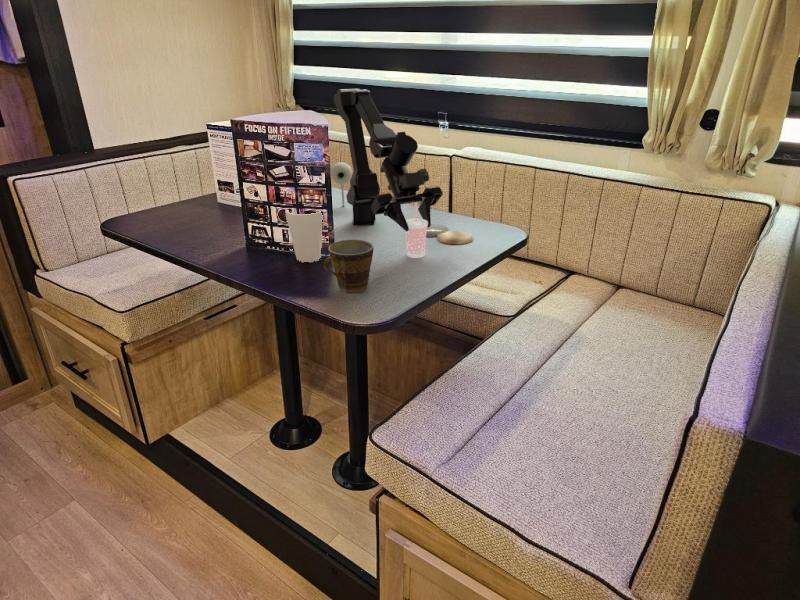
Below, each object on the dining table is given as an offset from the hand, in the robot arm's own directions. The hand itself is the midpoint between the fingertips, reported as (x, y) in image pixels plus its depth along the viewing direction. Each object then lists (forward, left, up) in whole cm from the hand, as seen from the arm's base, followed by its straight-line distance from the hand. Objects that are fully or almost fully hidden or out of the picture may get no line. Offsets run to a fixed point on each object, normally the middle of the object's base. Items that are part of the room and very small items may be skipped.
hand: (418, 228), depth 138 cm
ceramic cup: (-18, -20, -8) cm, 28 cm away
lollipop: (-22, +49, -8) cm, 54 cm away
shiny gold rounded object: (+11, +13, -8) cm, 19 cm away
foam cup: (-29, +1, -8) cm, 30 cm away
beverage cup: (-1, +1, -8) cm, 8 cm away
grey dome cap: (+5, +20, -8) cm, 22 cm away
